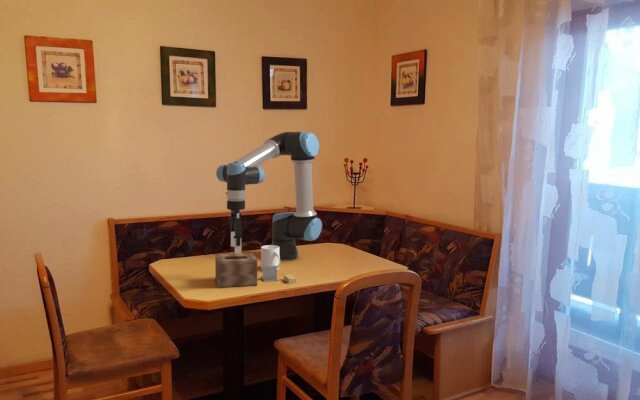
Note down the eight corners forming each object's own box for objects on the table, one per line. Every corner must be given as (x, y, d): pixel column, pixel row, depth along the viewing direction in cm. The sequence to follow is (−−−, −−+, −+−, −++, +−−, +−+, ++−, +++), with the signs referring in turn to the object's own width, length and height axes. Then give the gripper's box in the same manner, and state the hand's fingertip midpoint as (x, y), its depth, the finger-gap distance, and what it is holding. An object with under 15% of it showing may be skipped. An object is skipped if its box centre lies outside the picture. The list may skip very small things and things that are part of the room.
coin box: (252, 277, 228) (252, 253, 226) (257, 285, 215) (257, 260, 214) (215, 279, 223) (215, 254, 222) (218, 288, 211) (218, 261, 210)
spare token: (283, 280, 226) (283, 274, 226) (291, 279, 227) (291, 274, 227) (288, 284, 220) (288, 278, 219) (296, 283, 221) (296, 278, 220)
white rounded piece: (271, 274, 234) (271, 251, 233) (257, 268, 243) (257, 246, 242) (287, 271, 239) (287, 248, 238) (272, 266, 249) (272, 244, 247)
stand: (275, 276, 230) (275, 264, 229) (278, 280, 224) (278, 267, 223) (261, 277, 228) (261, 265, 227) (263, 281, 222) (263, 268, 221)
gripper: (223, 196, 226) (223, 244, 228) (230, 203, 202) (230, 256, 205) (241, 196, 228) (240, 243, 231) (249, 203, 204) (249, 256, 207)
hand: (235, 249), depth 218 cm, fingers open, 13 cm apart
